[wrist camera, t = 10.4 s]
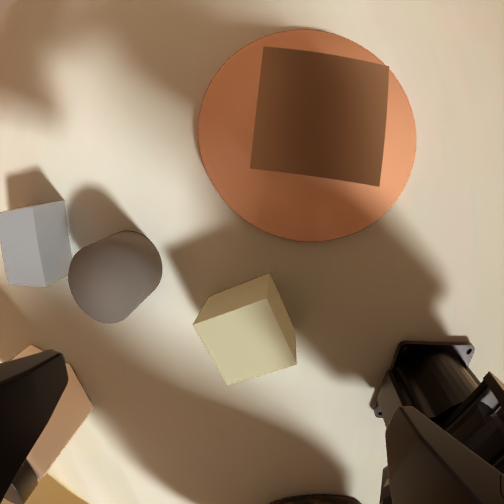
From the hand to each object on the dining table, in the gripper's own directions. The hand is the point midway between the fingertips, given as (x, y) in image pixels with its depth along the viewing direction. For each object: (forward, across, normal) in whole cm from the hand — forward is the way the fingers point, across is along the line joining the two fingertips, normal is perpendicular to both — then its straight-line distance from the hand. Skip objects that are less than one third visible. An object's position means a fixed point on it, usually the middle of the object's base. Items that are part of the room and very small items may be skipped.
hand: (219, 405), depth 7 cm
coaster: (+12, -2, -8) cm, 15 cm away
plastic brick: (+12, +15, 0) cm, 19 cm away
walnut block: (+11, -2, -8) cm, 14 cm away
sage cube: (+12, 0, +3) cm, 12 cm away
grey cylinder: (+12, +8, +1) cm, 15 cm away
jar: (+12, +17, +14) cm, 25 cm away
